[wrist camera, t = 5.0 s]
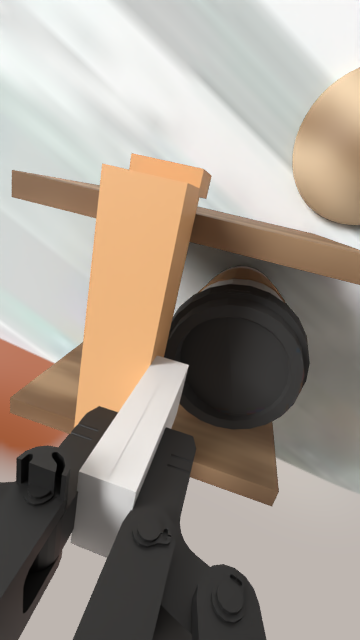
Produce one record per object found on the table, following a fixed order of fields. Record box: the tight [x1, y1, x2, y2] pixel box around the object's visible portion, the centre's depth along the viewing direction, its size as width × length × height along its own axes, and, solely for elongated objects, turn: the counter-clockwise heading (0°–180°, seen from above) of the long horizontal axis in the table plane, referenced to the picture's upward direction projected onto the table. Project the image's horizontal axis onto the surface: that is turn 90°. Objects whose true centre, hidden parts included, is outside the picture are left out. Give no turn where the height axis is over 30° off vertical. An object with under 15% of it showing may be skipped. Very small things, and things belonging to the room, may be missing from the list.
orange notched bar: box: [74, 154, 211, 428], centre depth 15 cm, size 18×3×5 cm, turn 167°
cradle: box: [10, 170, 360, 506], centre depth 23 cm, size 14×17×16 cm
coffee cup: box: [164, 266, 309, 430], centre depth 23 cm, size 8×8×15 cm
